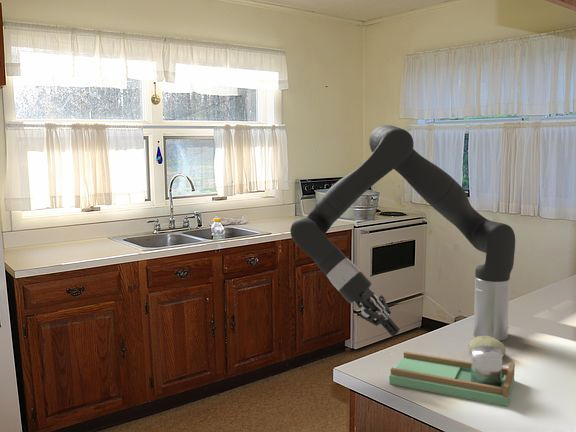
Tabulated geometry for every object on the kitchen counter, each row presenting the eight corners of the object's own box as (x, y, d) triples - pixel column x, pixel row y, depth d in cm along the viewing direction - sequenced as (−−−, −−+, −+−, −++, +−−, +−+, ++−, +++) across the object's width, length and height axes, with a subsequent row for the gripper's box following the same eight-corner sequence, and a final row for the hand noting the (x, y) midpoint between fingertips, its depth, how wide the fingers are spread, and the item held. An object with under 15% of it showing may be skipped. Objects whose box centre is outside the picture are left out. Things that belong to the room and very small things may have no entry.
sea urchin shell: (494, 340, 150) (504, 327, 144) (503, 368, 145) (513, 356, 139) (462, 341, 150) (470, 328, 143) (469, 369, 145) (477, 357, 139)
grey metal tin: (472, 374, 130) (473, 344, 129) (502, 379, 127) (503, 348, 126) (468, 385, 124) (469, 354, 123) (499, 391, 121) (500, 358, 120)
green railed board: (405, 361, 142) (405, 345, 141) (514, 380, 130) (514, 362, 129) (389, 383, 129) (389, 365, 129) (507, 406, 117) (508, 387, 117)
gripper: (348, 277, 131) (399, 333, 127) (367, 264, 142) (414, 316, 138) (328, 296, 134) (377, 351, 130) (348, 282, 146) (394, 333, 142)
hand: (396, 333), depth 134 cm, fingers closed
